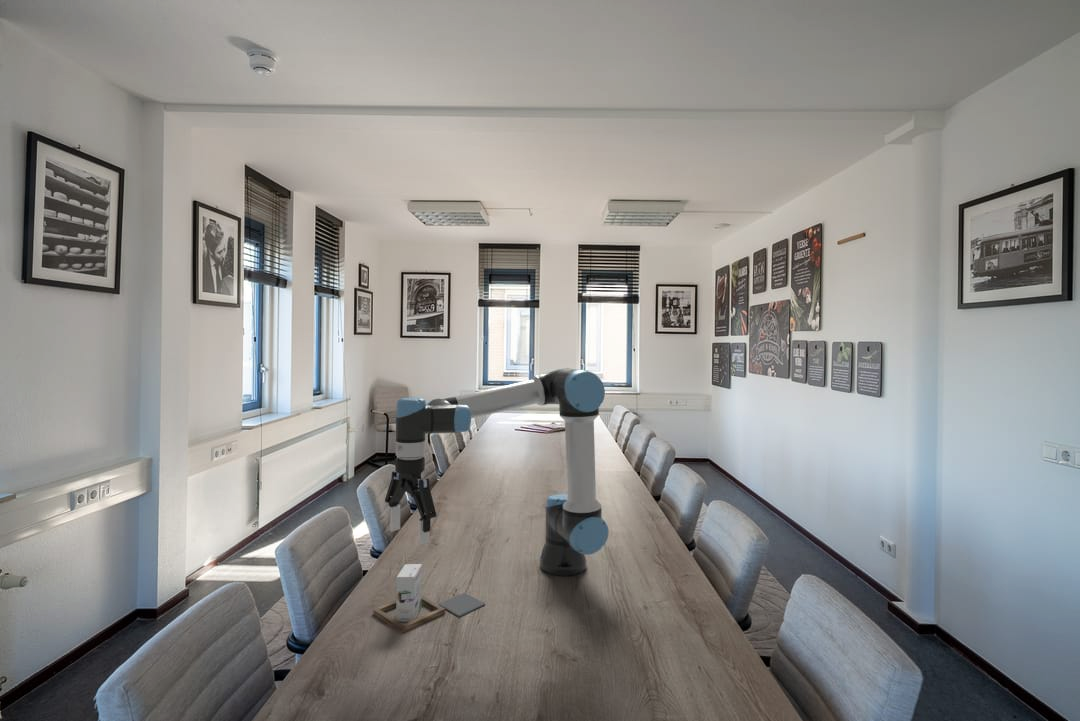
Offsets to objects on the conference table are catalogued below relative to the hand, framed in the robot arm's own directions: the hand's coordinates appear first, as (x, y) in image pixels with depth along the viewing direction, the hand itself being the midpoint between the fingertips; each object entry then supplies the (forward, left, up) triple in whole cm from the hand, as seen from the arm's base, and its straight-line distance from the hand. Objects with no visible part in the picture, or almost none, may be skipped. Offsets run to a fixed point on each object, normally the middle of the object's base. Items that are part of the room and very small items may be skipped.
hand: (409, 536), depth 138 cm
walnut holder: (0, 0, -21) cm, 21 cm away
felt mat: (-13, +7, -21) cm, 25 cm away
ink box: (0, 0, -21) cm, 21 cm away
